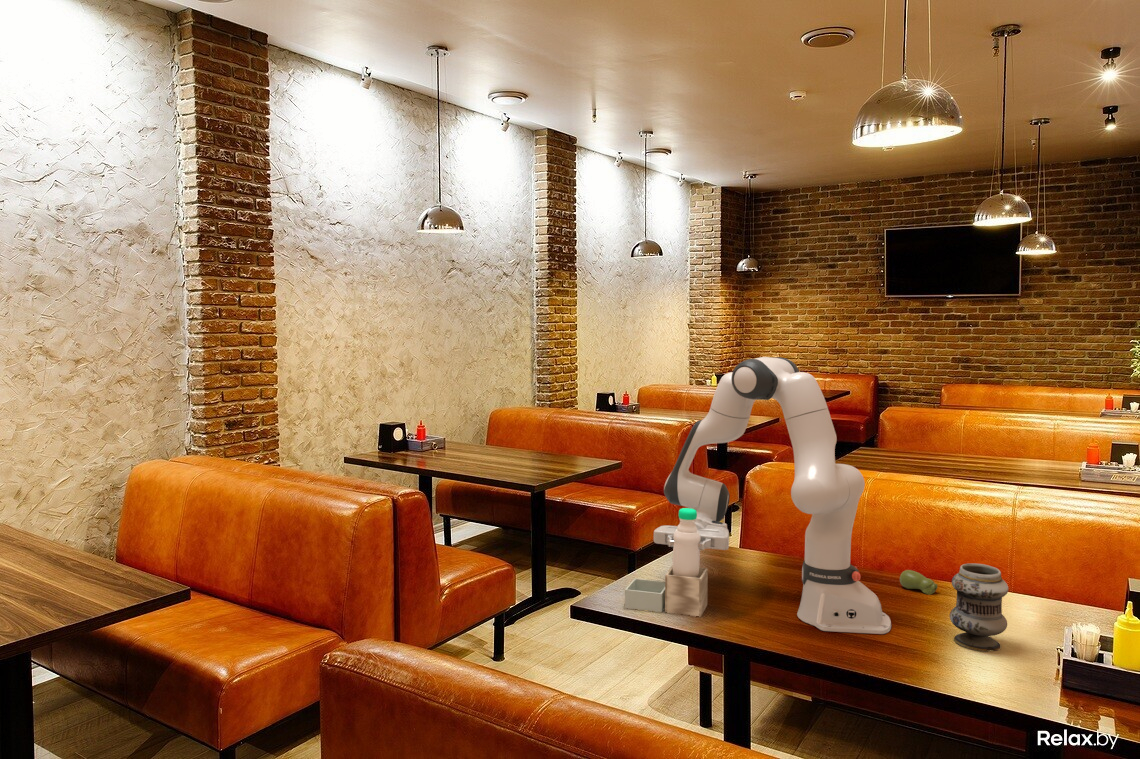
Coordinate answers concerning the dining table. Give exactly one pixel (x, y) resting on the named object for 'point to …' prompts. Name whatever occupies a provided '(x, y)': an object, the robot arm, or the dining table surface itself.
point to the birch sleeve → (686, 593)
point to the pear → (917, 582)
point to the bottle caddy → (645, 595)
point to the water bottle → (686, 545)
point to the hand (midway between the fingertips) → (686, 545)
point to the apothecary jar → (979, 606)
